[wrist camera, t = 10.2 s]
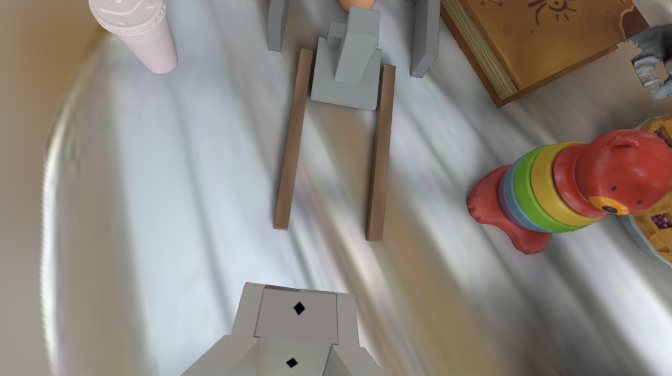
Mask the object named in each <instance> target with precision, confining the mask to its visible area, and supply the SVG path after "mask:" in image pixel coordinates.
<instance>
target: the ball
mask: <svg viewBox="0 0 672 376" xmlns="http://www.w3.org/2000/svg"><path fill="white" fill-rule="evenodd" d="M375 1H376V0H339V2H340V4H341V6H342V7H343V8H344V9H345V10H346V11H347V12H349V10H350V6H356V7H360V8H365V9H371V7H372V6H373V5H374V3H375Z"/></svg>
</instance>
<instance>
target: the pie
mask: <svg viewBox="0 0 672 376" xmlns="http://www.w3.org/2000/svg"><path fill="white" fill-rule="evenodd" d="M634 129H636V130H642V131H646V132H649V133H652V134H654V135H656V136H657V137H659V138H660V139H662V140H663V141H664V142H665V143H666V144H667V145H668V147H669V148H670V150H671V151H672V114H667V115H661V116H655V117H650V118H648V119H646V120H645V121H644V122H642V123H641V124H639V125H638V126H637V127H635V128H634ZM617 216H618V219H619V221H620V223H621V224H622V225H623V227H624V228H625V230H626V231H627V232H628V234H629V235H630V236H631V238H632V239H633V240H634V242H635V243H636V244H637V246H638V247H639V248H640V249H641V250H643V251H644V252H645V253H647V254H648V255H649V256H650V257H652V258H653V259H654V260H656V261H657V262H658V263H660V264H662V265H665V266H667V267H670V268H672V188H671V190H670V191H669V192H668V193H667V194H666V195H665V196H664V197H663V198H662V199H661V200H660V201H659V202H657V203H656V204H654V205H653V206H651V207H650V208H648V209H646V210H644V211H642V212H639V213H636V214H630V215H617Z"/></svg>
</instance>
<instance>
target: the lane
mask: <svg viewBox="0 0 672 376" xmlns="http://www.w3.org/2000/svg"><path fill="white" fill-rule="evenodd" d="M312 55H313V50H308V49H303V48H301V52H300V58H299V65H298V71H297V78H296V84H295V91H294V97H293V104H292V110H291V117H290V123H289V130H288V136H287V143H286V149H285V156H284V162H283V169H282V176H281V182H280V189H279V195H278V202H277V208H276V215H275V221H274V229H281V230H288V223H289V216H290V209H291V202H292V195H293V188H294V181H295V174H296V167H297V160H298V153H299V146H300V139H301V132H302V125H303V118H304V111H305V104H306V97H307V90H308V83H309V76H310V69H311V62H312ZM395 70H396V66H392V65H387V64H384V66H383V68H382V70H381V76H380V88H379V99H378V110H377V122H376V133H375V144H374V155H373V167H372V178H371V189H370V201H369V212H368V223H367V235H366V240H367V241H375V242H380V241H382V238H383V225H384V212H385V199H386V186H387V173H388V160H389V147H390V134H391V122H392V109H393V96H394V83H395Z"/></svg>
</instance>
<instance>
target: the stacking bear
mask: <svg viewBox="0 0 672 376" xmlns="http://www.w3.org/2000/svg"><path fill="white" fill-rule="evenodd" d="M671 188H672V151H671V150H670V148H669V147H668V145H667V144H666V143H665V142H664V141H663V140H662V139H660V138H659V137H657V136H656V135H654V134H652V133H649V132H646V131H642V130H636V129H622V130H616V131H612V132H609V133H606V134H604V135H602V136H600V137H598V138H596V139H595V140H594V141H592V142H591V143H590V144H588V143H584V142H578V141H572V142H564V143H558V144H554V145H548V146H544V147H541V148H538V149H535V150H533V151H531V152H529V153H527V154H525V155H524V156H522V157H521V158H520V159H518V160H517V161H516V162H515V163H514V164H513V165H507V166H503V167H500V168H498V169H496V170H494V171H492V172H490V173H489V174H487V175H486V176H485V177H484V178H482V179H481V180H480V181H479V183H478V184H477V185H476V186H475V188H474V189H473V191H472V193H471V194H470V197H469V199H468V203H467V206H468V208H469V213H470V215H471V216H472V217H474V218H475V219H476V221H478V222H479V223H482V224H492V225H495V226H498V227H499V228H501V229H502V230H504V231H505V232H506V233H507V234H508V235H509V237H510V238H511V240H512V242H513V244H514V246H515V247H516V248H517V249H518V250H520V251H523V253H525V254H533V253H538V252H540V251H542V250H543V249H544V248H545V246H546V245H547V243H548V241H549V239H550V237H551V235H552V233H561V232H570V231H574V230H578V229H581V228H583V227H586V226H588V225H590V224H592V223H594V222H596V221H598V220H600V219H602V218H604V217H606V216H607V215H609V214H617V215H630V214H636V213H639V212H642V211H644V210H646V209H648V208H650V207H651V206H653V205H654V204H656V203H657V202H659V201H660V200H661V199H662V198H663V197H664V196H665V195H666V194H667V193H668V192H669V191H670V190H671Z"/></svg>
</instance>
